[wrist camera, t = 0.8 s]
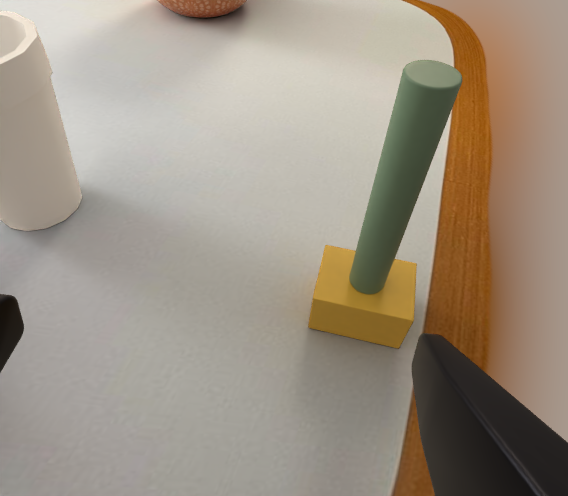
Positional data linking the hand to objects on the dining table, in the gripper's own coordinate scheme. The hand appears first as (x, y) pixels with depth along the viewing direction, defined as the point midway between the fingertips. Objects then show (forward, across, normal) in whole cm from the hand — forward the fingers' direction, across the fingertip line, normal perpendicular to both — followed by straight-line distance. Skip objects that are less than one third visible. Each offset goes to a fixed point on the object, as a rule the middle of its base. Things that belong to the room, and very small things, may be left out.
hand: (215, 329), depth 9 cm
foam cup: (+24, +20, +8) cm, 32 cm away
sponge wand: (+17, -6, +11) cm, 21 cm away
